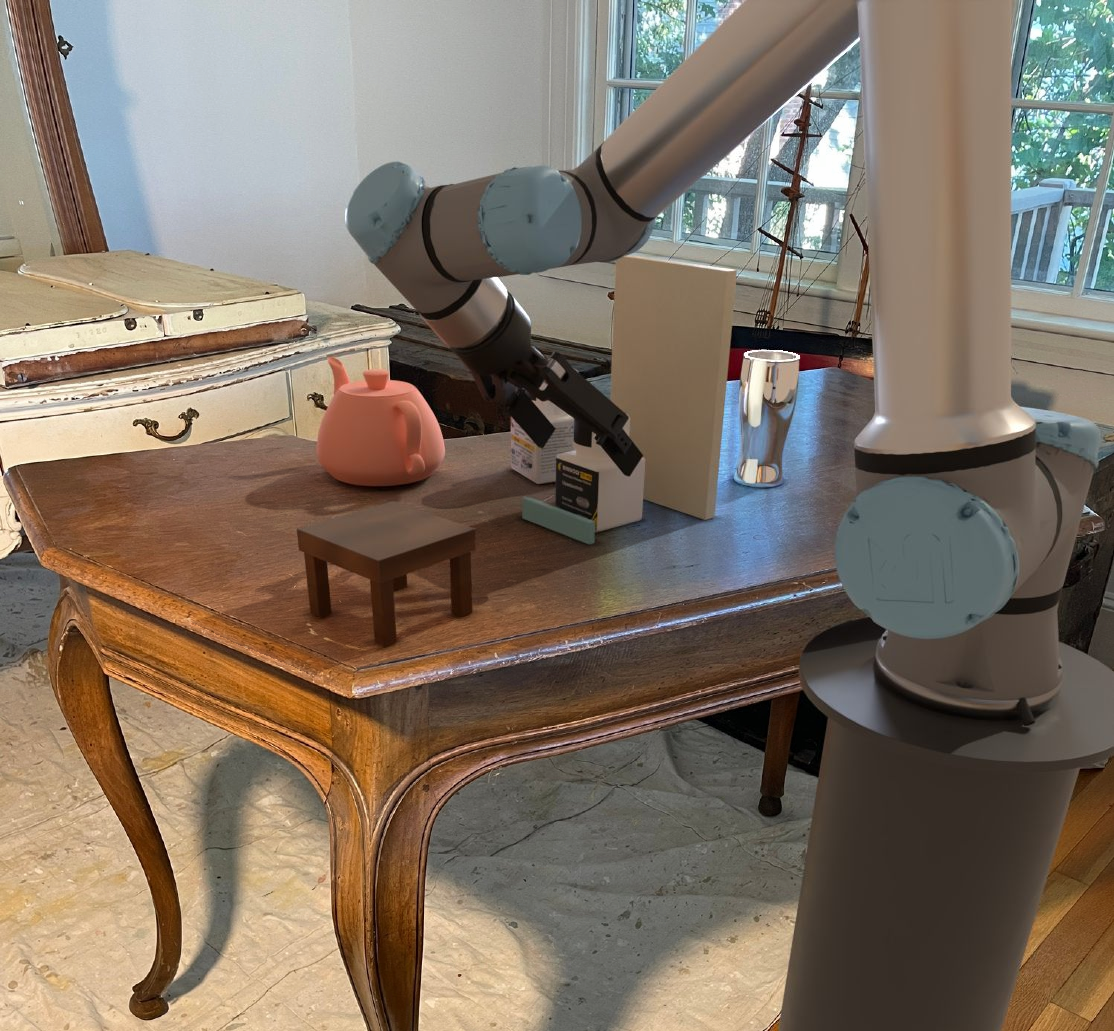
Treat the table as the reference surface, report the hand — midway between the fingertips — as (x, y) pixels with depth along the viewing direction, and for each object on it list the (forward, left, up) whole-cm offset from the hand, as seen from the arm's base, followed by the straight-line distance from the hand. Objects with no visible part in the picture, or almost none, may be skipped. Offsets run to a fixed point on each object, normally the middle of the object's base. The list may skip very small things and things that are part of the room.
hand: (589, 451), depth 119 cm
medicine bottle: (0, -2, -8) cm, 8 cm away
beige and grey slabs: (+1, -3, -8) cm, 9 cm away
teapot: (+26, +16, -8) cm, 32 cm away
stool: (-17, +27, -8) cm, 33 cm away
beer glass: (+6, -27, -8) cm, 28 cm away
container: (+18, -4, -8) cm, 20 cm away
